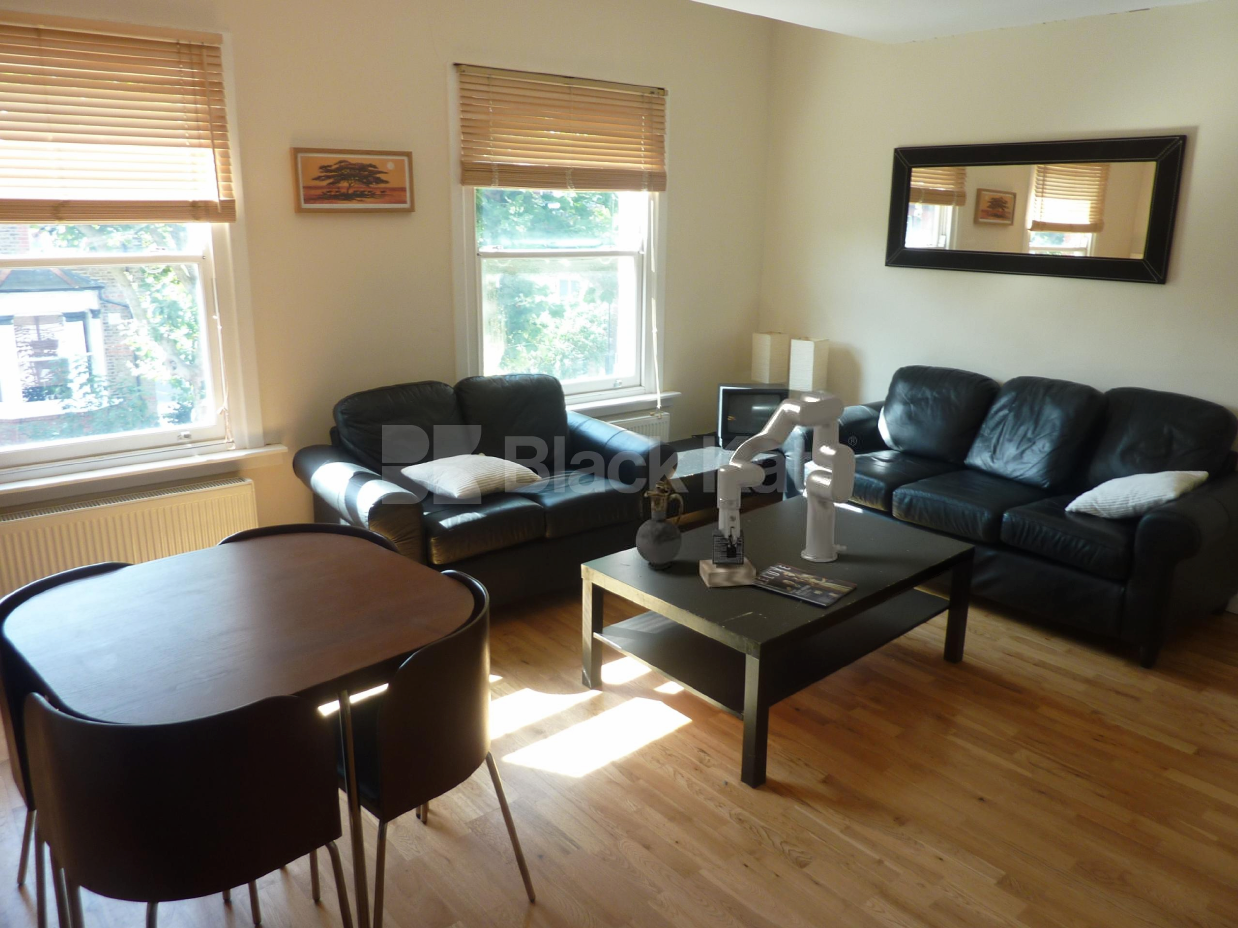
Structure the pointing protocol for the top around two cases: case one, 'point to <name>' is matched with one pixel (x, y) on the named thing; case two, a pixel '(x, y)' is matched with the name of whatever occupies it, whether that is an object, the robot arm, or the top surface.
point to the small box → (721, 546)
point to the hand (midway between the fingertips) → (728, 553)
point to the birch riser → (727, 573)
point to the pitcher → (659, 530)
